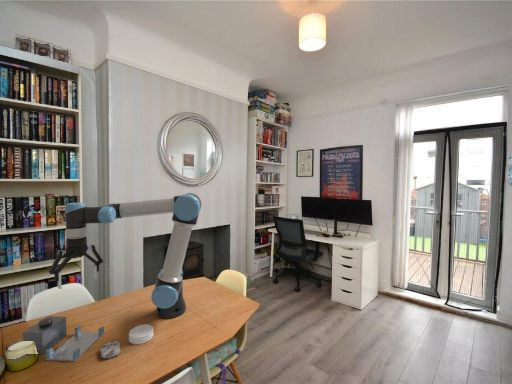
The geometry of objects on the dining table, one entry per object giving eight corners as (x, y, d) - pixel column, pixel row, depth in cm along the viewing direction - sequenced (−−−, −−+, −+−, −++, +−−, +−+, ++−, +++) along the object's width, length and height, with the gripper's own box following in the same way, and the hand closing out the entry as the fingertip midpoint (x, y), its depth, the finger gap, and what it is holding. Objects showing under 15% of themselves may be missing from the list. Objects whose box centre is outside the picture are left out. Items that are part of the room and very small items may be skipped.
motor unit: (104, 333, 115) (104, 310, 115) (75, 361, 98) (74, 334, 97) (54, 331, 116) (54, 309, 116) (16, 359, 98) (15, 333, 98)
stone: (98, 349, 105) (98, 343, 105) (118, 342, 109) (118, 336, 109) (101, 363, 97) (101, 356, 97) (123, 354, 102) (122, 348, 102)
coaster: (137, 348, 106) (137, 339, 106) (124, 339, 111) (123, 332, 111) (158, 335, 114) (158, 328, 114) (144, 328, 120) (144, 321, 120)
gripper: (104, 231, 126) (105, 273, 127) (38, 240, 107) (41, 290, 108) (109, 233, 121) (111, 277, 122) (42, 243, 102) (44, 295, 103)
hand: (78, 283), depth 115 cm, fingers open, 13 cm apart
